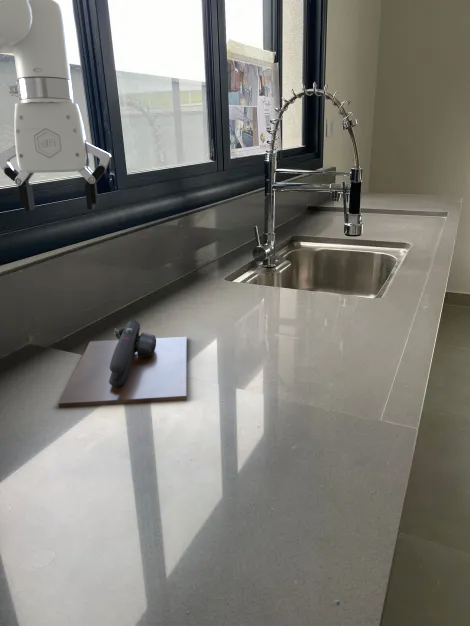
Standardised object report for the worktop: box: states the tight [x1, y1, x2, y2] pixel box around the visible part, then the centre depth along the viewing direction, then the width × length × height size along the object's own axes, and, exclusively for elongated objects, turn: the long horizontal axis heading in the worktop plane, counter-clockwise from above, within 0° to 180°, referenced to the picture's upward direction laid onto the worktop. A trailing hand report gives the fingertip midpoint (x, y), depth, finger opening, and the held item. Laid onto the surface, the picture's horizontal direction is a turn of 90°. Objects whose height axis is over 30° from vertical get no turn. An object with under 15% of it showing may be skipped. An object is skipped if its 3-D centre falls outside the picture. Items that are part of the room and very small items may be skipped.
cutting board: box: [57, 336, 188, 409], centre depth 82 cm, size 18×24×2 cm
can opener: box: [109, 319, 157, 387], centre depth 81 cm, size 18×7×6 cm, turn 178°
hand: (60, 209), depth 80 cm, fingers open, 9 cm apart
